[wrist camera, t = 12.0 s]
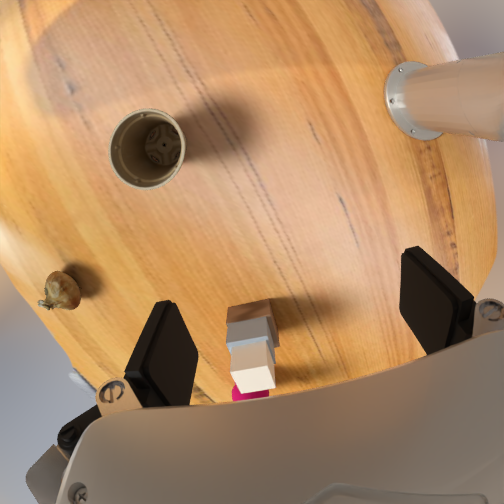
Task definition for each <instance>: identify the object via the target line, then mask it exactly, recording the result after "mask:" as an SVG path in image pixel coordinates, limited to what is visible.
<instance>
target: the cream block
mask: <svg viewBox="0 0 504 504" xmlns="http://www.w3.org/2000/svg"><path fill="white" fill-rule="evenodd" d="M230 373H231V375H232V377H233V379H234V381H235V383H236V385H237V387H238V388H239V390H240V392H241V394H243V393H249V392H255V391H261V390H267V389H272V388H276V384H275V372H274V362H273V359H272V356H271V354H270V351H269V348H268V345H267V342H266V340H264V341H259V342H254V343H250V344H245V345H239V346H234V347H232V353H231V366H230Z"/></svg>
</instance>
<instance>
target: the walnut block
mask: <svg viewBox="0 0 504 504" xmlns="http://www.w3.org/2000/svg"><path fill="white" fill-rule="evenodd" d="M261 317H266V318H267V322H268V325H269V329H270V332H271V336H272V339H273V343H274V348H275V347H280V345H279V336H278V329H277V325H276V322H275V318H274V315H273V311H272V308H271V304H270V301H269V299H265V300H260V301H256V302H251V303H247V304H242V305H237V306H232V307H228V312H227V320H226V324H227V327H228V324H230V323H235V322H241V321H246V320H251V319H256V318H261Z"/></svg>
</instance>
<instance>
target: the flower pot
mask: <svg viewBox="0 0 504 504" xmlns="http://www.w3.org/2000/svg"><path fill="white" fill-rule="evenodd" d="M173 128H174V129H176V130H177V131H178V133H179V134H178V135H176V134H175V133H174V132H173V131H172V129H173ZM154 131H155V132H156V134H155V135H154V136H153V137H152V139H150V137H151V135H152V133H153V132H154ZM163 144H166V146H163ZM108 151H109V154H108V155H109V160H110V164H111V167H112V169H113V171H114V173H115V174H116V176H117V177H118V178H119V179H120V180H121V181H122V182H124V183H125V184H126V185H128V186H130V187H132V188H135V189H140V190H152V189H156V188H159V187H161V186H163V185H165V184H167V183H168V182H169V181H170V180H172V179H173V178H174V176H175V175H176V174H177V173H178V171H179V169H180V168H181V166H182V163H183V160H184V156H185V151H186V137H185V135H184V133H183V131H182V130H181V128H180V126H179V125H178V123H177V122H176V121H175V120H174V119H173V118H172V117H171V116H170V115H168V114H167V113H165V112H163V111H160V110H156V109H141V110H137V111H134V112H132V113H130V114H128V115H127V116H126V117H124V118H123V119H122V120H121V121H120V122H119V124H118V125H117V126H116V128H115V129H114V131H113V133H112V135H111V138H110V142H109V150H108ZM178 152H181V153H180V154H179V155H178V157H177V158H175V156H176V153H178ZM152 156H154V157H155V158H156V159H158V160H159V161H158V162H157V161H155V160H153V159H152Z"/></svg>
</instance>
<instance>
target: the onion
mask: <svg viewBox="0 0 504 504" xmlns="http://www.w3.org/2000/svg"><path fill="white" fill-rule="evenodd" d="M78 287H79V286H78V284H77V283H76V281H75V280H74V279H73V278H71V277H70V276H69V275H67V274H65V273H64V272H60V271H55V272H53V273H51V274H50V275H49V276H48V278H47V280H46V284H45V288H44V289H45V295H46V299H45V301H43V300H39V301H38V303H39V304H38V306H39V307H44V308H46V309H47V310H50V308H52V309H54V308H62V309H66V310H73V309H75V308H77V307H78V306H79V304H80V300H81V295H80V291H79V288H80V287H79V288H78Z"/></svg>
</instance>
